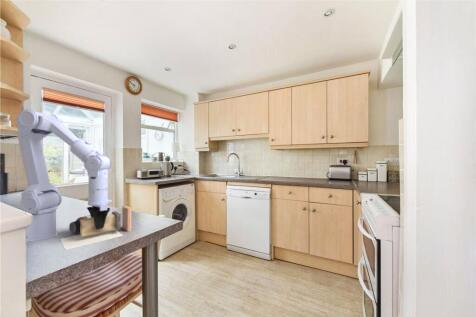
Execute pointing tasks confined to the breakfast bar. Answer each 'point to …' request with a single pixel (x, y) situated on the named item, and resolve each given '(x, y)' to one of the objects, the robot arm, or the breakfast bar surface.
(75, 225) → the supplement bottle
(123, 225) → the tile
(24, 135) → the robot arm
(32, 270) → the breakfast bar surface
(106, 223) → the wooden tool caddy
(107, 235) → the rest mat
